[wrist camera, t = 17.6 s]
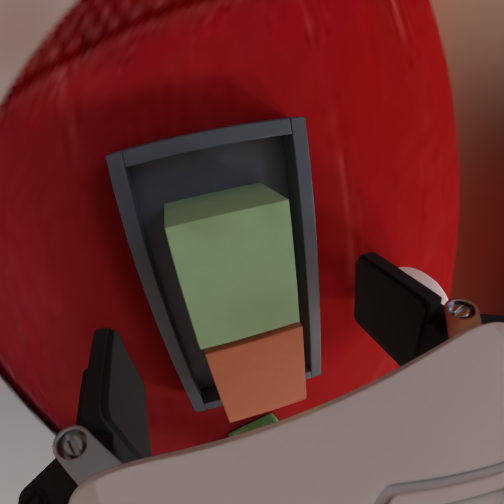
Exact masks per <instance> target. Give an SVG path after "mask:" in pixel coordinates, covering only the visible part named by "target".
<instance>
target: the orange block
mask: <svg viewBox="0 0 504 504" xmlns="http://www.w3.org/2000/svg"><path fill="white" fill-rule="evenodd" d="M204 353H205V356H206V359H207V362H208V365H209V368H210V371H211V374H212V376H213V379H214V382H215V385H216V388H217V390H218V393H219V396H220V399H221V401H222V404H223V407H224V409H225V412H226V414H227V417H228V420H229V422H234V421H238V420H241V419H245V418H248V417H252V416H255V415H258V414H262V413H265V412H268V411H271V410H274V409H277V408H280V407H283V406H286V405H289V404H292V403H295V402H298V401H301V400H303V399H306V380H305V360H304V343H303V327H302V325H301V323H300V322H296V323H293V324H289V325H286V326H283V327H280V328H277V329H273V330H270V331H267V332H263V333H260V334H256V335H253V336H250V337H246V338H243V339H239V340H235V341H232V342H228V343H224V344H221V345H217V346H213V347H209V348H205V349H204Z"/></svg>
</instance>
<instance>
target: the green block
mask: <svg viewBox="0 0 504 504" xmlns="http://www.w3.org/2000/svg"><path fill="white" fill-rule="evenodd" d="M164 227H165V233H166V236H167V240H168V244H169V248H170V252H171V255H172V259H173V263H174V266H175V270H176V273H177V277H178V280H179V284H180V287H181V290H182V294H183V297H184V300H185V304H186V307H187V310H188V313H189V317H190V320H191V323H192V326H193V329H194V332H195V335H196V339H197V342H198V345H199V348H200V349H201V350H202V349H205V348H209V347H213V346H217V345H221V344H224V343H228V342H232V341H235V340H239V339H243V338H246V337H250V336H253V335H256V334H260V333H263V332H267V331H270V330H273V329H277V328H280V327H283V326H286V325H289V324H293V323H296V322H299V321H300V320H299V306H298V293H297V281H296V269H295V258H294V247H293V236H292V226H291V217H290V207H289V200H288V199H287V198H285V197H283V196H282V195H280V194H279V193H277V192H275V191H274V190H272V189H270V188H269V187H267V186H265V185H264V184H262V183H255V184H250V185H245V186H241V187H236V188H231V189H226V190H222V191H217V192H213V193H208V194H204V195H199V196H195V197H191V198H186V199H182V200H178V201H174V202H170V203H166V204H164Z"/></svg>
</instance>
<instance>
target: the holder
mask: <svg viewBox="0 0 504 504" xmlns="http://www.w3.org/2000/svg"><path fill="white" fill-rule="evenodd" d="M105 158H106V162H107V166H108V170H109V175H110V179H111V183H112V187H113V191H114V194H115V198H116V202H117V206H118V209H119V213H120V216H121V220H122V223H123V227H124V230H125V234H126V237H127V240H128V243H129V247H130V250H131V253H132V256H133V259H134V262H135V265H136V268H137V271H138V274H139V277H140V280H141V283H142V286H143V288H144V291H145V294H146V297H147V299H148V302H149V305H150V308H151V310H152V313H153V316H154V318H155V321H156V323H157V326H158V328H159V331H160V333H161V336H162V338H163V341H164V343H165V346H166V348H167V350H168V353H169V355H170V357H171V360H172V362H173V364H174V367H175V369H176V371H177V373H178V376H179V378H180V380H181V382H182V384H183V387H184V389H185V391H186V393H187V395H188V397H189V399H190V401H191V404H192V406H193V408H194V410H195V412H200V411H204V410H206V409H207V410H208V409H212V408H216V407H220V406H223V404H222V401H221V399H220V396H219V393H218V390H217V388H216V385H215V382H214V379H213V376H212V374H211V371H210V368H209V365H208V362H207V359H206V356H205V353H204V349H202V350H201V349H200V348H199V345H198V342H197V339H196V335H195V332H194V329H193V326H192V323H191V320H190V317H189V313H188V310H187V307H186V304H185V300H184V297H183V294H182V290H181V287H180V284H179V280H178V277H177V273H176V270H175V266H174V263H173V259H172V255H171V252H170V248H169V244H168V240H167V236H166V233H165V227H164V204H166V203H170V202H174V201H178V200H182V199H186V198H191V197H195V196H199V195H204V194H208V193H213V192H217V191H222V190H226V189H231V188H236V187H241V186H245V185H250V184H255V183H262V184H264V185H265V186H267V187H269V188H270V189H272V190H274V191H275V192H277V193H279V194H280V195H282V196H283V197H285V198H287V199H288V200H289V207H290V217H291V226H292V236H293V247H294V258H295V269H296V281H297V293H298V306H299V320H300V321H299V322H300V323H301V325H302V327H303V343H304V360H305V380H306V379H309V378H311V377H315V376H317V375H320V374H321V329H320V295H319V272H318V253H317V237H316V223H315V210H314V198H313V187H312V176H311V166H310V156H309V147H308V138H307V130H306V122H305V117H285V118H277V119H269V120H262V121H255V122H248V123H242V124H235V125H229V126H224V127H218V128H213V129H207V130H202V131H197V132H192V133H188V134H183V135H178V136H174V137H170V138H165V139H161V140H157V141H153V142H149V143H145V144H141V145H137V146H134V147H130V148H126V149H123V150H119V151H116V152H113V153H111V154H109V155H107V156H106V157H105Z"/></svg>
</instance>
